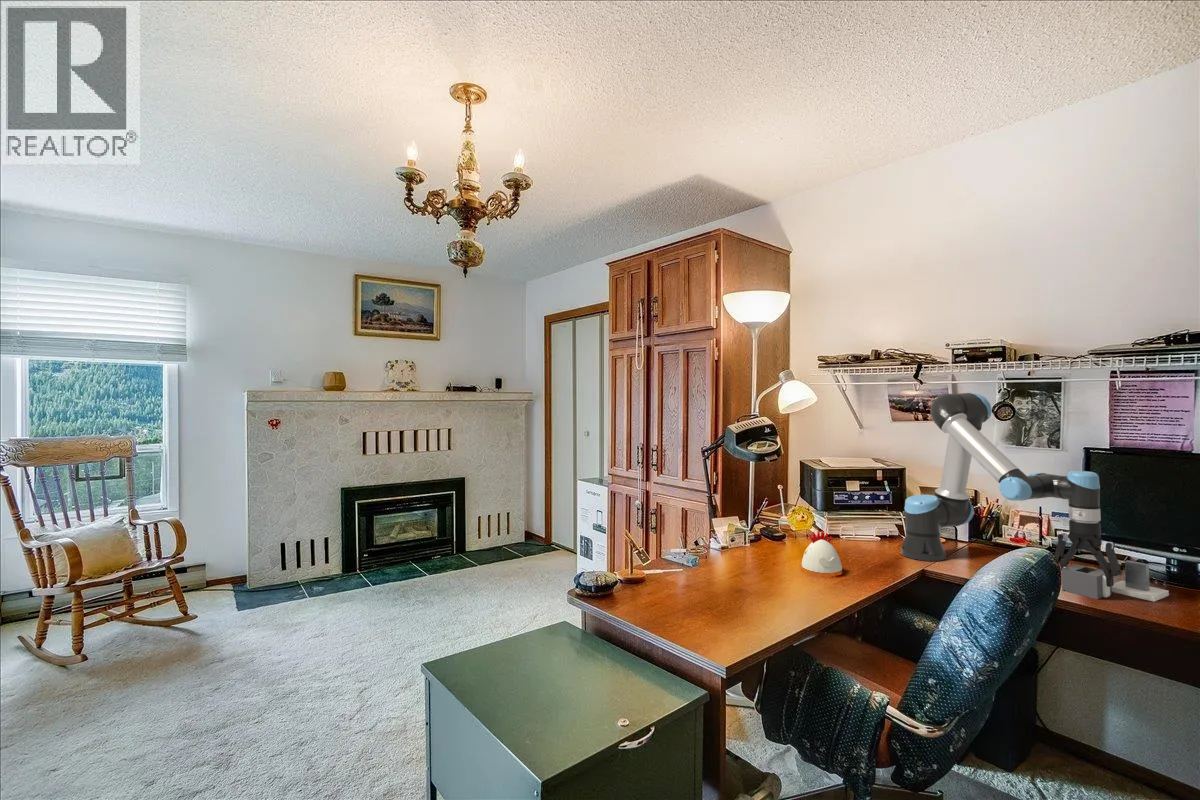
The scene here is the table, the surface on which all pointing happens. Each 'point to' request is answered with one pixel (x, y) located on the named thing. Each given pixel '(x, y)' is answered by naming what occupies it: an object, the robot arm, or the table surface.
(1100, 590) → the gray slotted block
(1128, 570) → the shaft stand
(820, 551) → the kitchen timer
